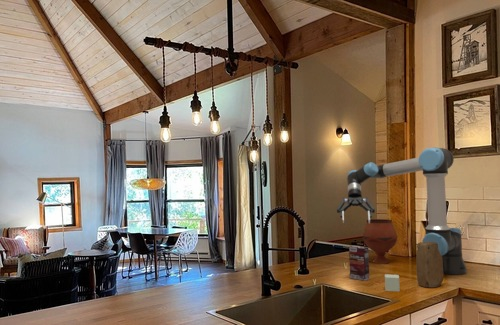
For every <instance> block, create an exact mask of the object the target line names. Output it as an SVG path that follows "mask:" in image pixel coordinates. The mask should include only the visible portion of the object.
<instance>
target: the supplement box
mask: <svg viewBox="0 0 500 325" xmlns="http://www.w3.org/2000/svg"><path fill="white" fill-rule="evenodd" d="M348 249H349V251H348V252H349V254H348V256H349V278H350V279H354V280H360V281H368V280H370V256H369V255H370V252H369V251H370V250H369V247H368V246H360V245H351V246H349V247H348Z"/></svg>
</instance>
